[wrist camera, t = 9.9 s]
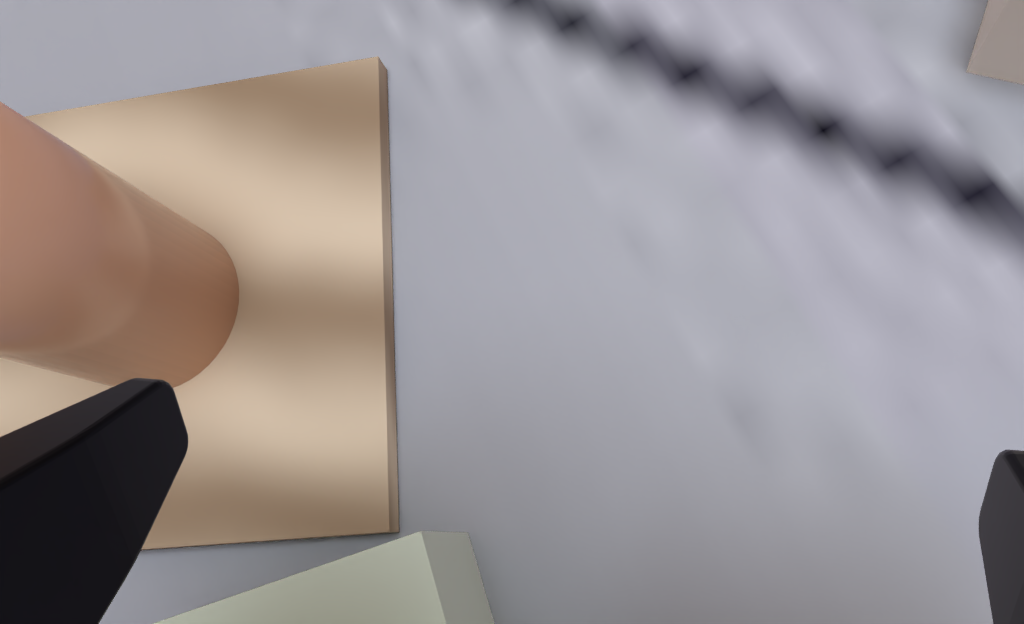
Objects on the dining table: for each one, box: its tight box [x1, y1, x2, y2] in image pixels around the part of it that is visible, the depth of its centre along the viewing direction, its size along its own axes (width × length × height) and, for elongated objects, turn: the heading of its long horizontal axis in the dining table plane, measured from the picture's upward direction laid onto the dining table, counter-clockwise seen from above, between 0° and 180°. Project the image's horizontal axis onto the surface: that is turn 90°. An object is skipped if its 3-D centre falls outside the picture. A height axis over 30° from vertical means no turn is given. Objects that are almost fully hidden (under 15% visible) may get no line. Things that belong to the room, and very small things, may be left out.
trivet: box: [0, 57, 399, 550], centre depth 26 cm, size 14×14×1 cm
